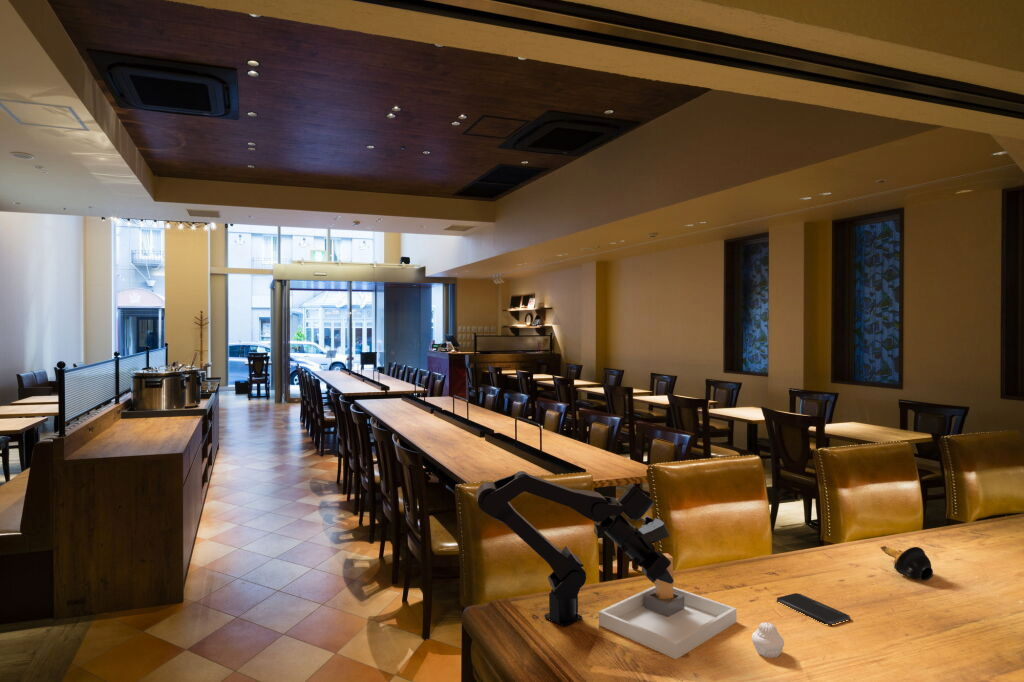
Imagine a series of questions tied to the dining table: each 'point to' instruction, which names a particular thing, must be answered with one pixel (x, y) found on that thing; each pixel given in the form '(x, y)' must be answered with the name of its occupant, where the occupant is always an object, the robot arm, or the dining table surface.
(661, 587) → the tan square peg
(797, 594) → the phone
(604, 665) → the dining table surface
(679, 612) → the walled tray
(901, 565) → the toilet plunger
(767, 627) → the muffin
